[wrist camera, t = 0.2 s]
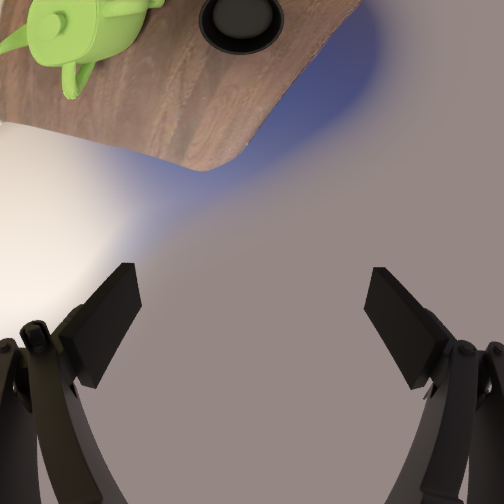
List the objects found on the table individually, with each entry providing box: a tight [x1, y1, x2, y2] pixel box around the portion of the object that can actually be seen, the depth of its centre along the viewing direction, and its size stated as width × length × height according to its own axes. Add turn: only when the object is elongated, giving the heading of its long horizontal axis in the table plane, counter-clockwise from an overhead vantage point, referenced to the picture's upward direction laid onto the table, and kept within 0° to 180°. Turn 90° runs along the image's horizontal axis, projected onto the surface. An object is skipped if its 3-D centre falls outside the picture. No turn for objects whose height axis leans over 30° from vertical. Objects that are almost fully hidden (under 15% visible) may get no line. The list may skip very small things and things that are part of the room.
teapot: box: [0, 0, 165, 100], centre depth 17 cm, size 19×20×14 cm
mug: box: [199, 0, 284, 55], centre depth 23 cm, size 9×12×9 cm
